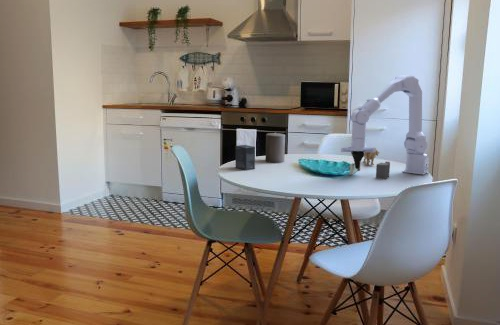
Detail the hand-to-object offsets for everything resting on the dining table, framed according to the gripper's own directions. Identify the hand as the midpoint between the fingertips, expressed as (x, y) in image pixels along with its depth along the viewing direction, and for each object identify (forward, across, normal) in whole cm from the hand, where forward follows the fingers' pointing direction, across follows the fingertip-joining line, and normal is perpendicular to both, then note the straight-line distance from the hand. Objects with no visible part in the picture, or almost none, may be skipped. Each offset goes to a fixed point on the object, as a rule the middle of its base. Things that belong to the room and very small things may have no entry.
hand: (356, 168), depth 207 cm
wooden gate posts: (+3, -8, -5) cm, 10 cm away
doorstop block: (+3, -10, +6) cm, 12 cm away
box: (+3, +50, -11) cm, 51 cm away
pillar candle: (+3, +35, -30) cm, 46 cm away
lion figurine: (+3, -12, -26) cm, 28 cm away
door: (+3, +1, -3) cm, 4 cm away
